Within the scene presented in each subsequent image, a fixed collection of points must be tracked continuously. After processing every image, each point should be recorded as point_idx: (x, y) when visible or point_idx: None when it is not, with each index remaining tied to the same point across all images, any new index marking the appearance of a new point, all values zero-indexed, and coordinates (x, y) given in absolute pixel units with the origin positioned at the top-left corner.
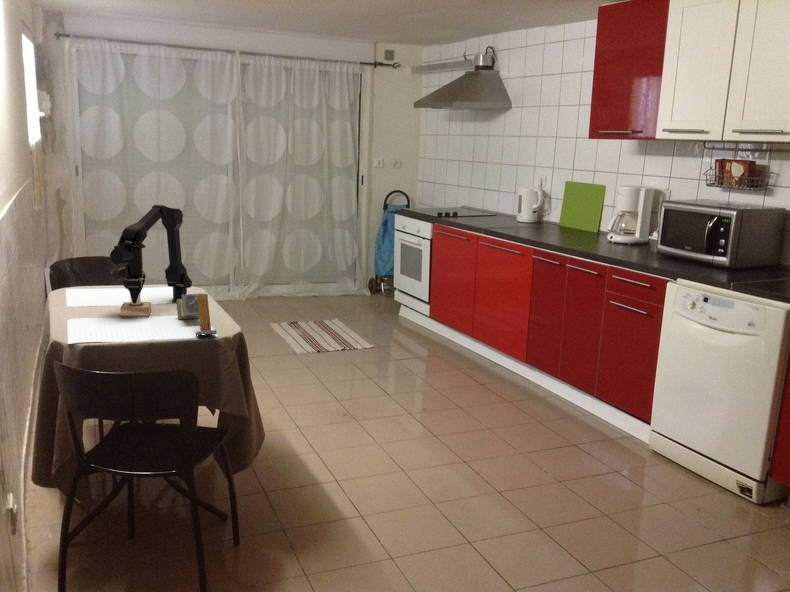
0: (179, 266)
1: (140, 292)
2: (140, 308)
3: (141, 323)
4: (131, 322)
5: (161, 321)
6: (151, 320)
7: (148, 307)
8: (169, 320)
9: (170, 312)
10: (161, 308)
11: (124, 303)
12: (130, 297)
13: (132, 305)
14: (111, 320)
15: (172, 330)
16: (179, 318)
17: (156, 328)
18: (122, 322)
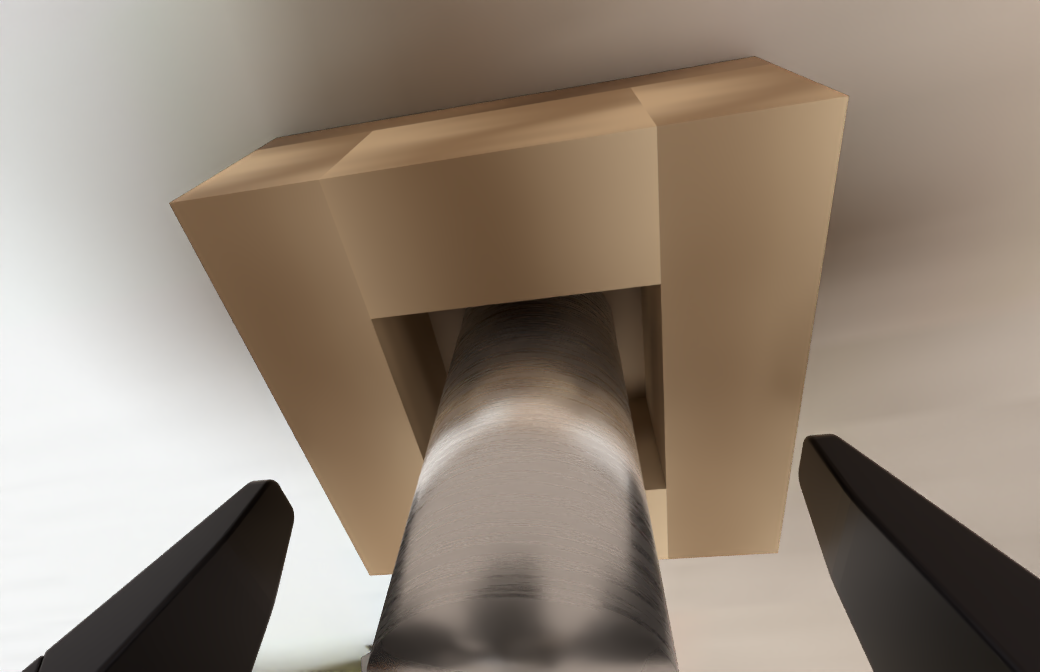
0: None
1: (865, 645)
2: (332, 489)
3: (127, 440)
4: (112, 340)
5: (286, 562)
6: (293, 495)
7: (370, 574)
8: (344, 601)
9: (679, 578)
10: (920, 493)
11: (669, 159)
12: (471, 462)
13: (450, 374)
14: (63, 11)
15: (49, 640)
16: (363, 665)
17: (32, 563)
18: (48, 235)
